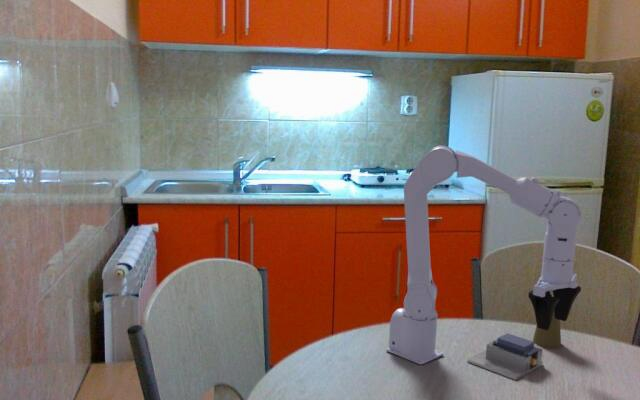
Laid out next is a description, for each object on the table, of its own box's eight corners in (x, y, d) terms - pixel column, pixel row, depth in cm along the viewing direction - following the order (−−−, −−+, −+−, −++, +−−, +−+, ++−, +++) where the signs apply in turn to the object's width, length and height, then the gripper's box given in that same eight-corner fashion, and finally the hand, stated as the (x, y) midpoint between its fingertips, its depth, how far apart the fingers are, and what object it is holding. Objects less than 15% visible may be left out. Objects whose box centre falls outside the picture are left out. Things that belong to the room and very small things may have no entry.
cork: (563, 349, 135) (568, 301, 133) (534, 346, 136) (539, 299, 135) (558, 339, 141) (563, 293, 139) (531, 336, 142) (535, 290, 140)
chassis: (467, 361, 127) (468, 345, 127) (495, 348, 135) (496, 333, 134) (516, 380, 119) (517, 363, 119) (542, 364, 127) (544, 348, 126)
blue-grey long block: (491, 356, 129) (493, 336, 128) (501, 351, 131) (503, 331, 131) (529, 370, 122) (531, 349, 122) (539, 365, 125) (541, 344, 124)
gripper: (561, 268, 112) (554, 338, 115) (594, 256, 122) (587, 321, 125) (525, 260, 117) (519, 328, 120) (560, 249, 127) (554, 311, 130)
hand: (552, 324), depth 122 cm, fingers open, 7 cm apart
